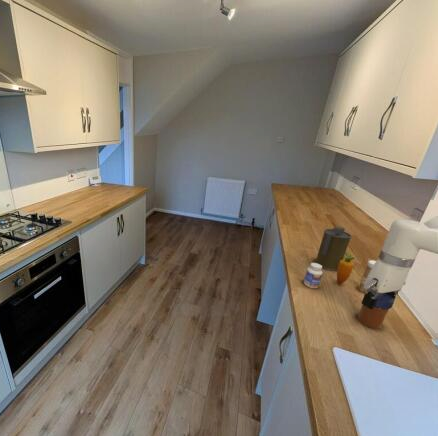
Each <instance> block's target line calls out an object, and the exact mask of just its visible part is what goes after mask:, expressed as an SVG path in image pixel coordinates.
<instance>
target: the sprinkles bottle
mask: <svg viewBox="0 0 438 436" xmlns="http://www.w3.org/2000/svg"><path fill="white" fill-rule="evenodd" d="M376 261H377V260H372V259H369V260H367V264H366V267H365V270H364V272H363V274H362V277H361V279H360V283H359V286H358V287H357V289H358V291H360V292H361V293H364V290H363V287H364V286H365V281H366V279H367V276H368V274H369V272H370V270H371V269H372V267H373V265H374V264H375V262H376ZM373 288H374V289H375V287H373Z"/></svg>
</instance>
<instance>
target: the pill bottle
mask: <svg viewBox="0 0 438 436" xmlns="http://www.w3.org/2000/svg"><path fill="white" fill-rule="evenodd" d="M322 270H323V268H322V266H321V265H320V264H317V263H315V262H311V263H310V265H309V267H307V269H306V273H305V276H304V279H303V284H304V285H305V286H306V287H308V288H311V289H317V288H319V286H320V283H321V280H322V276H323V271H322Z"/></svg>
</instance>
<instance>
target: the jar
mask: <svg viewBox="0 0 438 436" xmlns="http://www.w3.org/2000/svg"><path fill="white" fill-rule="evenodd" d="M389 310H390V309H382V308H378V307H376V306H374V307H373V309H369V308H368V307H366V306H364V305H363V304H362V303H361V307H360V309H359V312H358V314H357V320H358V321H359V322H360V323H361V324H362V325H364V326H366V327H368V328H371V329H376V330H377V329H381V328H382V326H383V324H384V321H385V320H386V317H387V315H388V312H389Z"/></svg>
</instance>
